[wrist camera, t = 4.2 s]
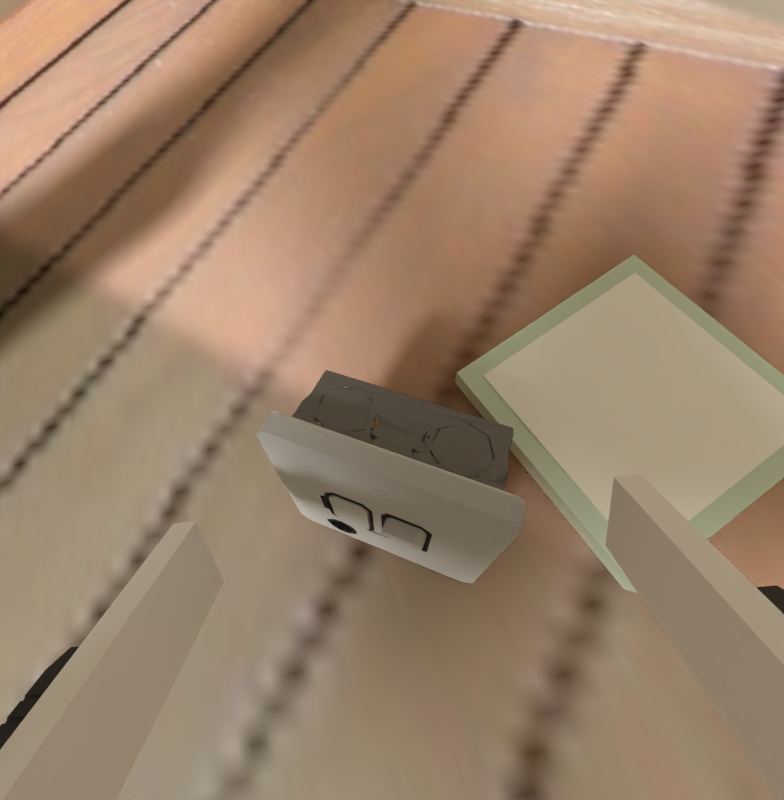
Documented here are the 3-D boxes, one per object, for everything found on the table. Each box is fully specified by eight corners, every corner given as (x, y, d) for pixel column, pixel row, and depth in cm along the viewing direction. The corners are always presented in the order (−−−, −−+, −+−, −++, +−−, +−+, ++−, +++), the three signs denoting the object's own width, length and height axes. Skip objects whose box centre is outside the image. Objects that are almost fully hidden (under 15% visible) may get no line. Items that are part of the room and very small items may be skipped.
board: (455, 383, 22) (456, 372, 20) (621, 271, 23) (634, 252, 22) (623, 589, 17) (641, 593, 16) (816, 434, 19) (849, 425, 17)
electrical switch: (303, 517, 20) (221, 474, 12) (341, 433, 22) (295, 344, 14) (471, 586, 18) (516, 593, 10) (497, 487, 20) (553, 423, 12)
